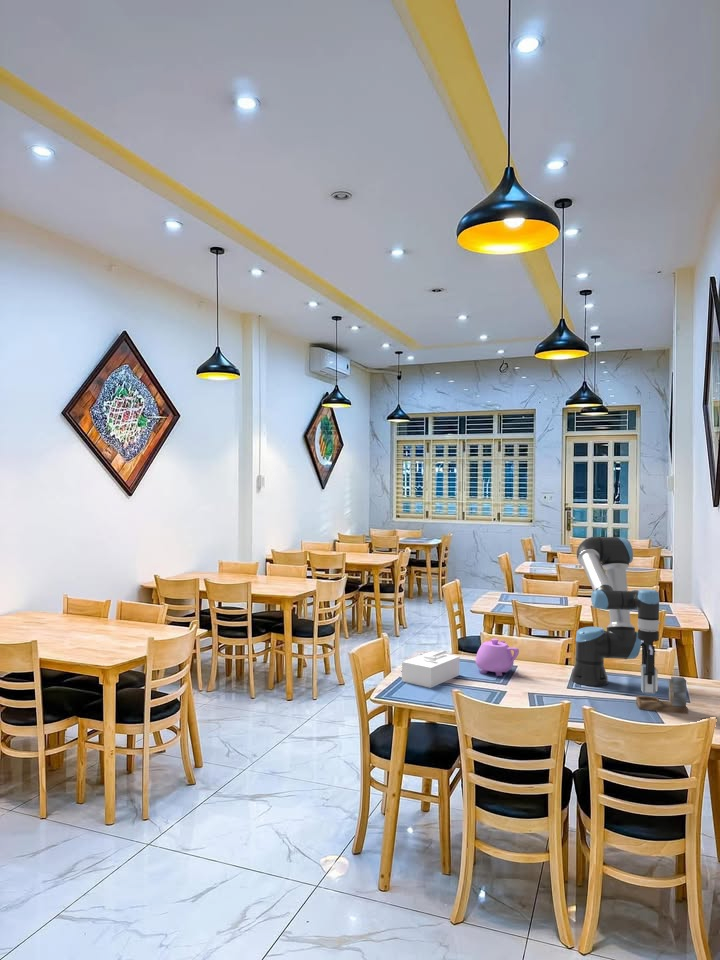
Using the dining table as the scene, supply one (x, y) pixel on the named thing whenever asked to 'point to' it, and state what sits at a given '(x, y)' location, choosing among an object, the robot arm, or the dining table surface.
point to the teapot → (495, 657)
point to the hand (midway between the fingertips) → (647, 690)
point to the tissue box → (430, 669)
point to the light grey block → (643, 670)
